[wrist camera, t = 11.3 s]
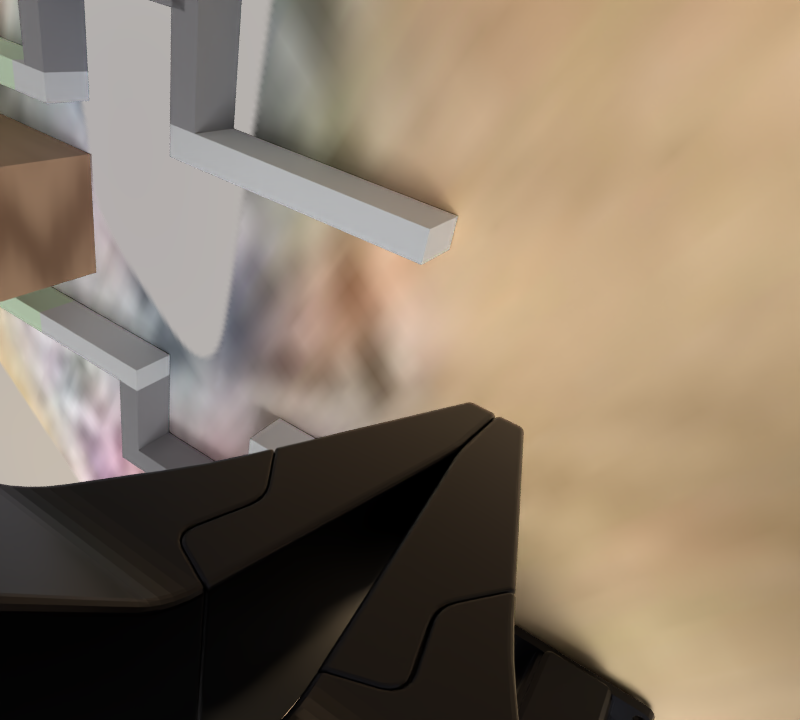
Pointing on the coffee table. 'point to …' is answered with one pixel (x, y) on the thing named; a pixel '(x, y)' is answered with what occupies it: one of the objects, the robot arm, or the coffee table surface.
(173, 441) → the trap pockets
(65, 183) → the walnut block
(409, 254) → the lane
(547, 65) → the coffee table surface
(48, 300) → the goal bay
